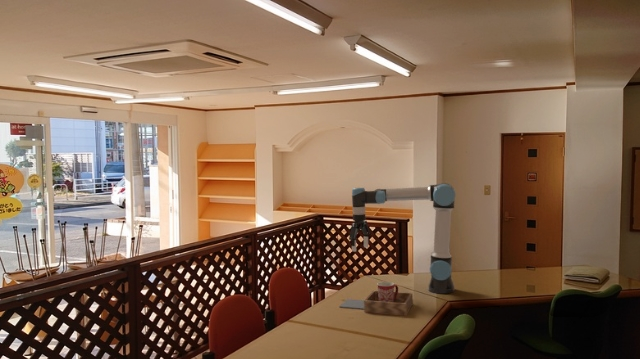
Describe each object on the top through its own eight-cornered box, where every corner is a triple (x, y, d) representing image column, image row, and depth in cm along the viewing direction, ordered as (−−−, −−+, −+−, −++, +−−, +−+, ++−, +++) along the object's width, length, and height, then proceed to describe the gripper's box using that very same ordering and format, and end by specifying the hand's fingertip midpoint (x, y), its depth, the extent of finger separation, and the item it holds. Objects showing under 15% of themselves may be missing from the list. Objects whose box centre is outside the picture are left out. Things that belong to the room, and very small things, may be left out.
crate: (412, 304, 261) (412, 293, 261) (406, 315, 242) (405, 303, 242) (373, 301, 269) (373, 290, 269) (364, 312, 250) (363, 300, 250)
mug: (384, 312, 249) (383, 286, 248) (374, 307, 257) (373, 283, 256) (403, 308, 255) (403, 283, 254) (393, 303, 263) (392, 279, 262)
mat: (370, 301, 267) (370, 300, 267) (364, 309, 254) (364, 308, 254) (347, 300, 272) (347, 299, 272) (339, 307, 259) (339, 306, 259)
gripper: (364, 211, 295) (365, 245, 296) (342, 216, 275) (343, 252, 276) (375, 211, 291) (376, 246, 291) (353, 216, 271) (354, 253, 271)
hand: (360, 249), depth 284 cm, fingers open, 13 cm apart
